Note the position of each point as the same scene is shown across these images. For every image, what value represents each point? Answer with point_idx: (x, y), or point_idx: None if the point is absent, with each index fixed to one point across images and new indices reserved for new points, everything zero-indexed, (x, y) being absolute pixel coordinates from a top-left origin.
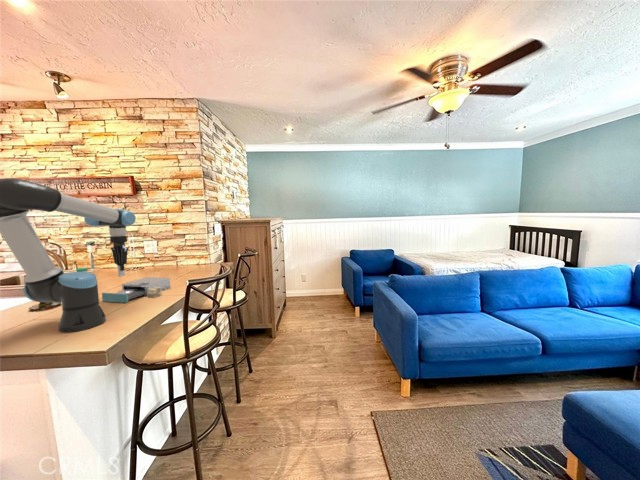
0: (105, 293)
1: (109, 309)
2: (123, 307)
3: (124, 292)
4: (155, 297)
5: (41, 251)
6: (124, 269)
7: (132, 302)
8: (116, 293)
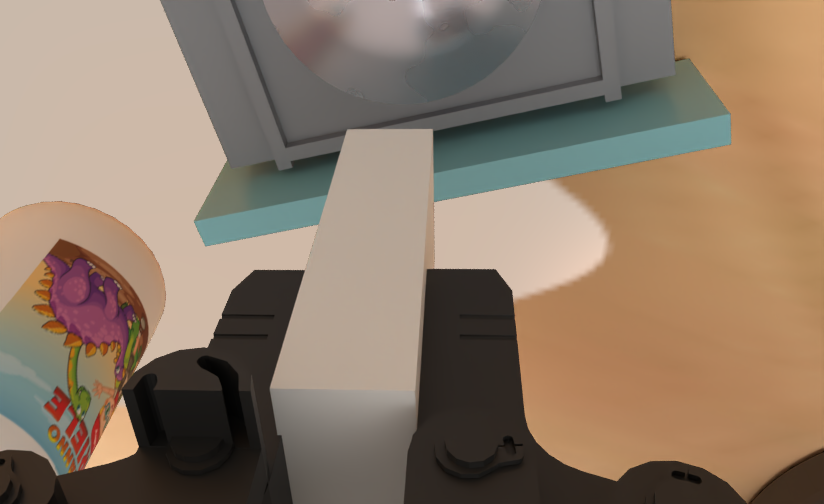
0: (278, 231)
1: (700, 289)
2: (821, 194)
3: (476, 39)
4: None
5: None
6: (421, 242)
7: (743, 21)
8: (473, 170)
